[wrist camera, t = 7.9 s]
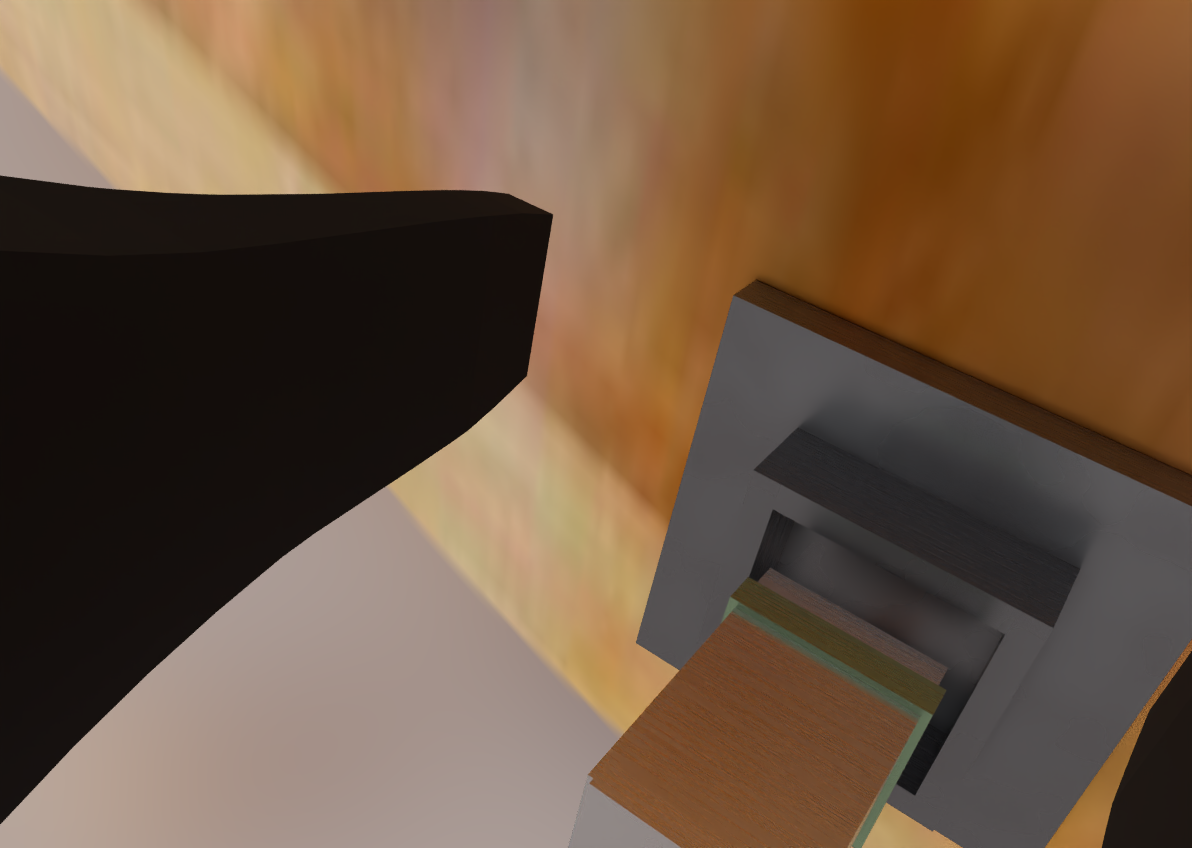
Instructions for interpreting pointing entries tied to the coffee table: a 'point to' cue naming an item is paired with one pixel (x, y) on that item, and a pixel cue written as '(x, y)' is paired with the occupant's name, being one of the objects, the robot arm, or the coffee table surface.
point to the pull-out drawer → (767, 733)
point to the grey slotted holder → (936, 553)
